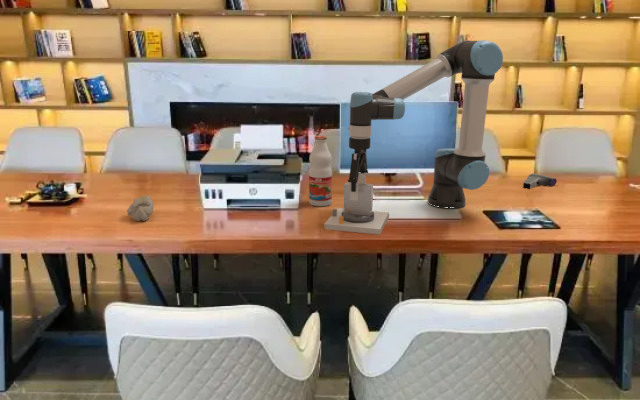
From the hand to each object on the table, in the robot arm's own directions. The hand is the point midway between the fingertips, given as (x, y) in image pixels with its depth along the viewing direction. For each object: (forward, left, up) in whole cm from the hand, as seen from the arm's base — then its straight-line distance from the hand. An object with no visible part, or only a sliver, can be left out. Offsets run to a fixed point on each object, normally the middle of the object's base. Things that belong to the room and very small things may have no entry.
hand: (357, 195), depth 195 cm
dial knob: (0, 0, -8) cm, 8 cm away
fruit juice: (+20, -20, -11) cm, 30 cm away
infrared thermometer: (-70, -76, -11) cm, 104 cm away
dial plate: (0, 0, -11) cm, 11 cm away
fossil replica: (+79, +18, -11) cm, 81 cm away
